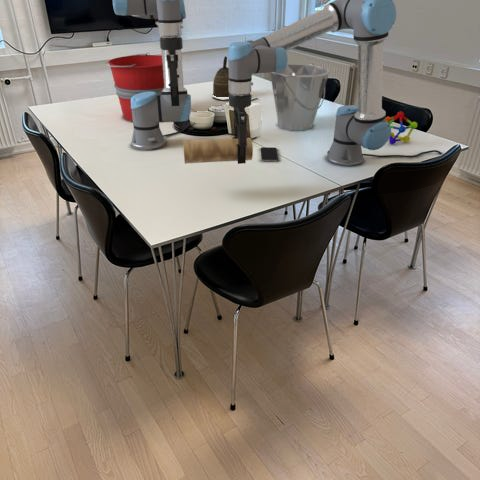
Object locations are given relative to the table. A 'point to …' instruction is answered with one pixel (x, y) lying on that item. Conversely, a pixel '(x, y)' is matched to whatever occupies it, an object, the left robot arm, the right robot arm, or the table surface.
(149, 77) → the bucket
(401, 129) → the educational toy
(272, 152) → the smartphone
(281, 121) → the bucket
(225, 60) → the bell
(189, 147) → the brown cylinder
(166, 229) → the table surface
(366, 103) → the right robot arm
